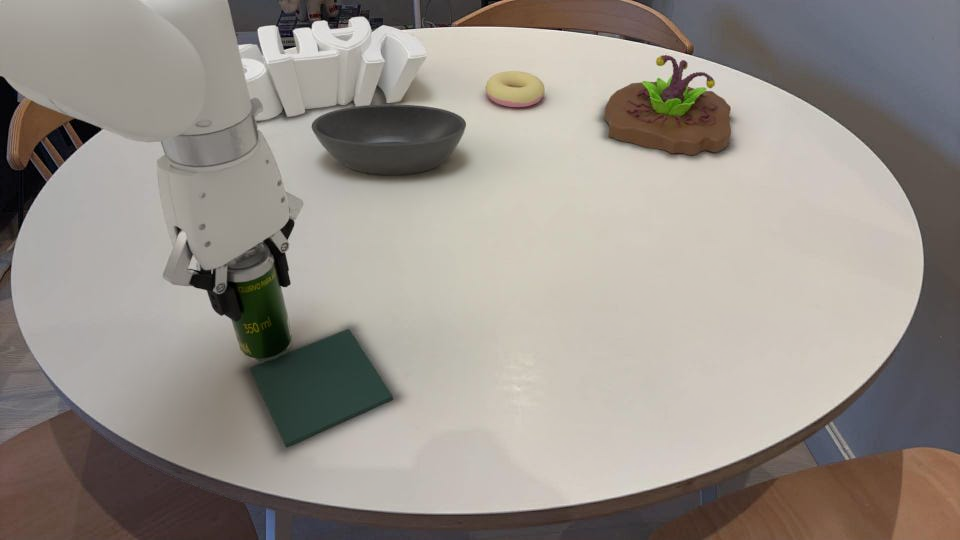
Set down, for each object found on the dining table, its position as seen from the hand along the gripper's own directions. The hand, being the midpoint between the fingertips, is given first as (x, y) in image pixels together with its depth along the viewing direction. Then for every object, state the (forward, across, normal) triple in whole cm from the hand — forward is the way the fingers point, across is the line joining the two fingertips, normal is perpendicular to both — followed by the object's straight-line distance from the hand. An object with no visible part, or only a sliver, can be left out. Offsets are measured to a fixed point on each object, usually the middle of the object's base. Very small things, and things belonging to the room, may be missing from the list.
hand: (254, 296), depth 69 cm
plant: (+8, -72, +12) cm, 73 cm away
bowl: (+8, -37, -15) cm, 41 cm away
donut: (+8, -65, -12) cm, 66 cm away
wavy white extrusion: (+8, -45, -39) cm, 60 cm away
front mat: (+8, 0, +7) cm, 11 cm away
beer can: (+7, 0, 0) cm, 7 cm away
